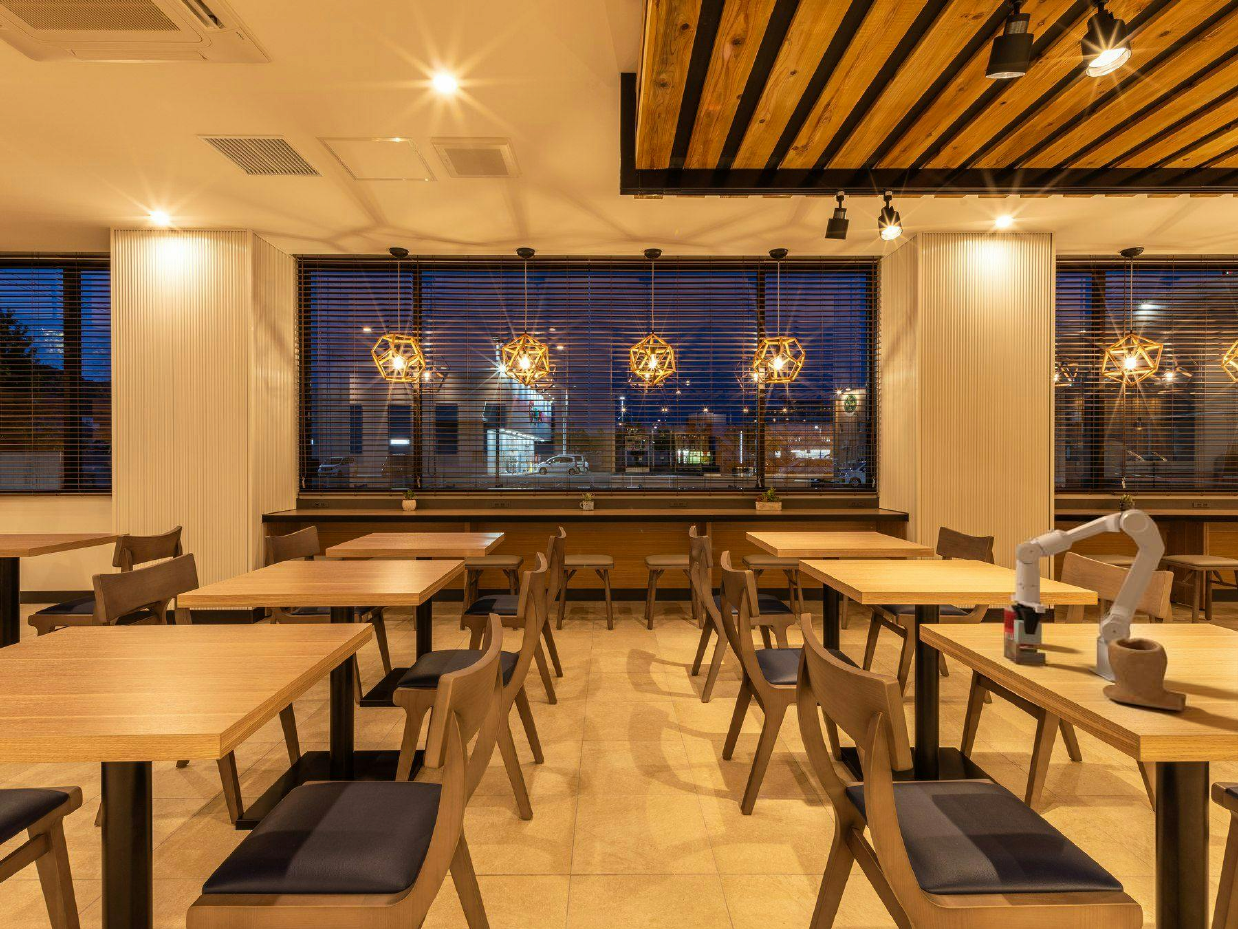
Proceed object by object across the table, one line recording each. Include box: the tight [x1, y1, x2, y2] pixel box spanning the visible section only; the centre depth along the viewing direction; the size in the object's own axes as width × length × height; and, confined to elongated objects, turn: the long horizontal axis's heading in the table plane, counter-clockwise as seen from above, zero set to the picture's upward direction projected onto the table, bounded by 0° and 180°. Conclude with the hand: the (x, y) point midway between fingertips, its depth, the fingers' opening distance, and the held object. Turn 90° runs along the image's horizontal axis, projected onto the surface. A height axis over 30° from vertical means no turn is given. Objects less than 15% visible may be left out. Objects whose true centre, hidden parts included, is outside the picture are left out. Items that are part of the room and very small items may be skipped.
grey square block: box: [1014, 620, 1043, 646], centre depth 172 cm, size 2×6×6 cm, turn 81°
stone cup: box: [1102, 637, 1187, 712], centre depth 140 cm, size 15×12×15 cm
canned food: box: [1003, 605, 1035, 647], centre depth 189 cm, size 8×8×11 cm
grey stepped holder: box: [1003, 636, 1048, 666], centre depth 172 cm, size 7×8×6 cm
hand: (1027, 632), depth 172 cm, fingers closed on grey square block, 2 cm apart
